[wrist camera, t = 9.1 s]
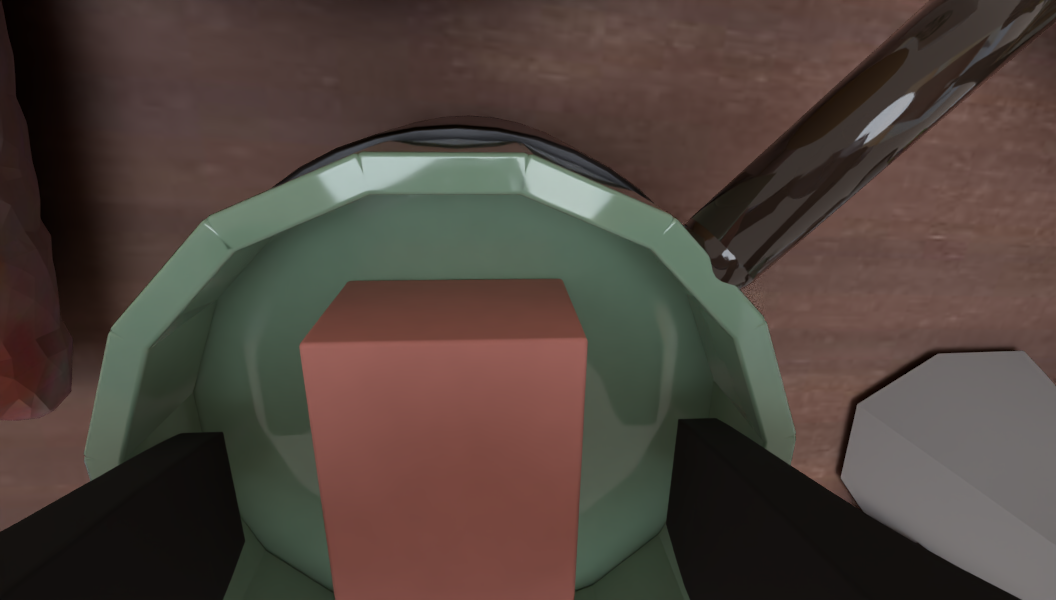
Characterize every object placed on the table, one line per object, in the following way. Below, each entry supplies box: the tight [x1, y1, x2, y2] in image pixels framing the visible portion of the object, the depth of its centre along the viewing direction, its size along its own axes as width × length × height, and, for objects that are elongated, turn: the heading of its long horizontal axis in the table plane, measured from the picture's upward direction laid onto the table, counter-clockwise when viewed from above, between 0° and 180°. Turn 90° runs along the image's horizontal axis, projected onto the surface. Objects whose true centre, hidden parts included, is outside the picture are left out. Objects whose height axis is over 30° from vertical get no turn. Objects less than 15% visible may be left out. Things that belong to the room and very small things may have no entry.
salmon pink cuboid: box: [299, 279, 588, 600], centre depth 9 cm, size 6×4×2 cm, turn 179°
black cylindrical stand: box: [271, 116, 654, 204], centre depth 13 cm, size 10×10×6 cm
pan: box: [84, 0, 1056, 600], centre depth 9 cm, size 17×10×3 cm, turn 134°
